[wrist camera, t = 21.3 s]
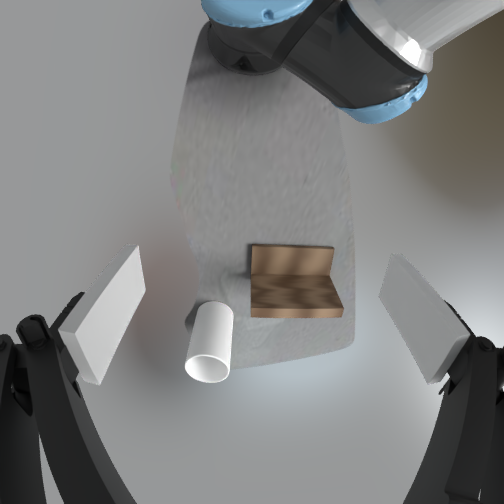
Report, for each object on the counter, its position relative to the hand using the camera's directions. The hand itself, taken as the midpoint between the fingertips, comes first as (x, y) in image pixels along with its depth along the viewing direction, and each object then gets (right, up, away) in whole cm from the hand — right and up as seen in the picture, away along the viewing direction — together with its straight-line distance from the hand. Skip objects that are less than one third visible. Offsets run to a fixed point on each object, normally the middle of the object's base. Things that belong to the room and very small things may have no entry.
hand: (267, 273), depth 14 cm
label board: (+7, -1, +42) cm, 42 cm away
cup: (-9, -13, +48) cm, 50 cm away
